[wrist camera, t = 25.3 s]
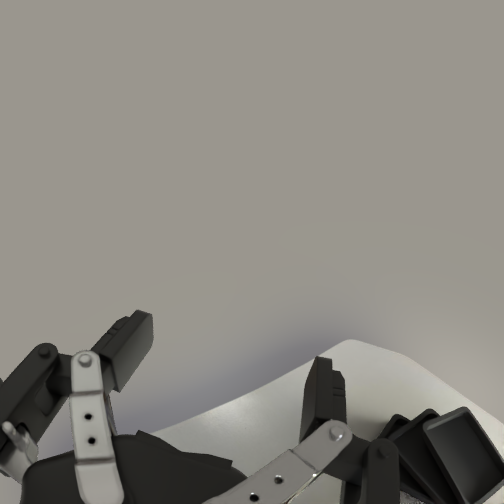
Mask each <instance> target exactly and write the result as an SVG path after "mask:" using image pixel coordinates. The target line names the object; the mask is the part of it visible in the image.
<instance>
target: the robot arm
mask: <svg viewBox="0 0 504 504" xmlns="http://www.w3.org/2000/svg"><path fill="white" fill-rule="evenodd" d="M152 319H153V318H152V314H150V313H147V312H143V311H140V310H136V311H135V312H134V313H133V314H132V315H131V316H130V317H127V316H125V317H123V318H121V319H119V320H117V321H116V322H115V323H114V325H113V326H112V327H111V328H110V329H109V330H108V331H107V333H105V334H104V335H103V336H102V337H101V339H100V340H99V341H98V342H97V343H96V344H95V345H94V346H93V347H92V348H91V350H83V351H79V352H77V353H76V354H75V355H74V356H71V355H65V354H60V353H58V350H57V348H56V346H54V345H53V344H51V343H42V344H39V345H38V346H36V347H35V348H34V349H33V350H32V351H31V352H30V353H29V354H28V356H27V357H26V358H25V359H24V360H23V361H22V362H21V363H20V364H19V365H18V366H17V368H16V369H15V370H14V371H13V372H12V373H11V374H10V375H9V377H8V378H7V379H6V380H5V381H4V382H3V383H2V385H1V386H0V472H1V473H2V474H3V475H4V476H7V477H12V478H13V479H14V480H16V481H17V482H18V483H20V484H21V485H22V494H21V500H20V504H289V503H291V502H292V501H293V500H294V499H295V498H296V497H297V496H298V495H300V494H301V493H302V492H303V491H304V490H305V489H307V488H308V487H309V486H310V485H311V484H312V483H313V482H314V481H316V480H317V479H318V478H319V477H320V476H321V475H322V474H323V473H325V474H328V475H330V476H333V477H335V478H338V479H341V480H342V486H341V495H340V503H339V504H400V475H399V454H398V448H397V446H396V445H395V444H394V443H393V442H392V441H390V440H388V439H385V438H379V439H376V440H374V441H372V442H369V441H366V440H363V439H361V438H359V437H357V436H355V435H354V434H352V431H351V429H350V428H349V426H348V425H347V419H346V397H345V396H346V394H345V380H344V378H343V376H342V374H341V372H340V371H335V370H332V359H329V358H324V357H318V356H316V357H315V360H314V362H313V365H312V367H311V370H310V372H309V374H308V377H307V380H306V383H305V388H304V398H303V409H302V419H301V428H300V437H299V445H298V446H296V447H295V448H294V449H292V450H291V449H289V450H287V451H285V452H284V453H282V454H281V455H280V456H278V457H277V458H276V459H274V460H273V461H272V462H270V463H269V464H267V465H266V466H265V467H263V468H262V469H260V470H259V471H257V472H256V473H255V474H253V475H252V476H250V477H249V478H248V477H247V476H246V475H244V474H243V473H242V472H241V471H239V470H237V469H236V468H234V467H232V466H231V465H232V462H233V461H232V460H228V459H224V458H220V457H217V456H213V455H209V454H199V453H189V452H182V451H180V450H178V449H176V448H175V447H173V446H171V445H170V444H168V443H167V442H165V441H163V440H162V439H160V438H158V437H155V436H153V435H150V434H148V433H145V432H143V431H140V430H138V432H137V433H136V435H128V434H127V435H126V434H125V435H118V434H117V431H116V427H115V423H114V418H113V413H112V407H111V402H110V397H109V393H110V392H111V390H115V391H117V392H119V393H120V392H121V390H122V389H123V387H124V386H125V384H126V383H127V381H128V380H129V379H130V377H131V376H132V374H133V373H134V371H135V370H136V368H137V367H138V366H139V364H140V362H141V361H142V360H143V358H144V357H145V356H146V354H147V353H148V351H149V350H150V348H151V346H152V343H153V320H152ZM68 397H69V404H70V418H71V429H72V438H73V446H74V450H72V451H69V452H66V453H63V454H60V455H57V456H53V457H50V458H47V459H43V460H39V461H37V458H38V457H37V456H38V452H39V451H38V446H37V443H38V441H39V440H40V438H41V437H42V435H43V434H44V432H45V430H46V429H47V428H48V426H49V425H50V423H51V422H52V420H53V418H54V417H55V416H56V414H57V413H58V411H59V410H60V408H61V407H62V406H63V404H64V403H65V401H66V400H67V398H68ZM36 461H37V462H36Z"/></svg>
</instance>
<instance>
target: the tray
mask: <svg viewBox="0 0 504 504" xmlns="http://www.w3.org/2000/svg"><path fill="white" fill-rule="evenodd" d="M379 438H385V439H388V440H390V441H392V442H393V443H394V444H395V445H396V446H397V448H398V454H399V475H400V490H402V491H404V492H406V493H407V494H409V495H411V496H413V497H415V498H417V499H419V500H420V501H422V502H424V503H426V504H483V503H484V502H485V501H486V500H487V499H489V498H490V497H491V496H492V495H493V494H495V493H496V492H497V491H498V490H499V489H500V488H501V487H502V486H504V460H503V458H502V457H501V455H500V453H499V452H498V450H497V449H496V447H495V446H494V444H493V443H492V441H491V440H490V438H489V437H488V435H487V434H486V432H485V431H484V430H483V428H482V427H481V425H480V424H479V422H478V421H477V420H476V418H475V417H474V415H473V414H472V413H471V411H470V410H469V409H468V408H467V407H460V408H458V409H456V410H454V411H451V412H449V413H447V414H444V415H442V416H440V415H439V414H438V413H437V412H436V411H434V410H433V409H426V410H425V411H424V412H422V413H421V414H420V415H418V416H417V417H416V418H414V419H413V420H412V421H410V420H409V419H407V418H405V417H403V416H402V415H399V414H395V415H393V416H392V418H391V419H390V421H389V422H388V424H387V425H386V427H385V428H384V430H383V431H382V432H381V434H380V435H379V437H378V438H377V439H379Z"/></svg>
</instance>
